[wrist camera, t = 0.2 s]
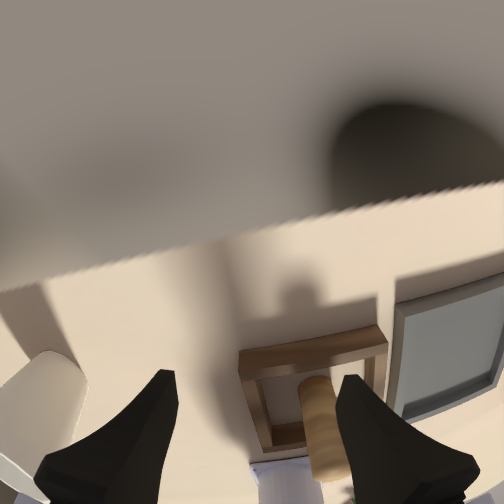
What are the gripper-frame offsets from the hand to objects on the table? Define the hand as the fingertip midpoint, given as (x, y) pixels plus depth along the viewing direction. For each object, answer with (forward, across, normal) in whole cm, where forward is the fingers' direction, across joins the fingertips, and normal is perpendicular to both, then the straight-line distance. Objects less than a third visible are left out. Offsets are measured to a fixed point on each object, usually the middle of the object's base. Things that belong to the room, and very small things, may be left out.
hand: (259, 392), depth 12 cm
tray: (+10, -19, +6) cm, 23 cm away
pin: (+10, -6, +9) cm, 15 cm away
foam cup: (+10, +19, +11) cm, 24 cm away
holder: (+10, -6, +9) cm, 15 cm away
